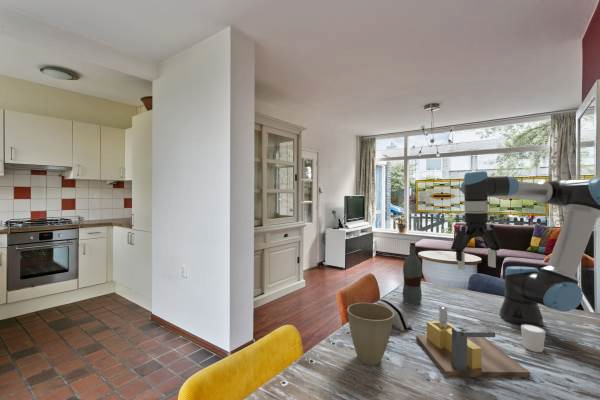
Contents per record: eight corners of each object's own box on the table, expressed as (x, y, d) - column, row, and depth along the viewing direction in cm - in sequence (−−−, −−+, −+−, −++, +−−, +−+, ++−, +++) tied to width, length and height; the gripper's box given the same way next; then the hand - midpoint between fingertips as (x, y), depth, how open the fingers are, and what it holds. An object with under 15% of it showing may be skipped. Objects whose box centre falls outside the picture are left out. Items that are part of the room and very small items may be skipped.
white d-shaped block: (412, 329, 116) (405, 307, 115) (403, 334, 115) (396, 312, 114) (388, 313, 132) (382, 293, 131) (380, 317, 131) (373, 297, 130)
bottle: (399, 298, 151) (399, 241, 150) (415, 298, 152) (416, 241, 151) (407, 305, 141) (408, 244, 141) (425, 305, 142) (426, 244, 142)
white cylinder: (539, 354, 98) (539, 334, 98) (516, 345, 104) (516, 326, 104) (549, 350, 101) (549, 330, 101) (526, 341, 107) (526, 322, 107)
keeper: (485, 369, 89) (486, 326, 89) (494, 377, 85) (495, 332, 85) (450, 369, 89) (451, 326, 89) (457, 377, 85) (458, 332, 85)
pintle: (444, 345, 104) (445, 306, 104) (448, 348, 101) (448, 309, 101) (437, 345, 104) (438, 306, 104) (441, 348, 101) (441, 309, 101)
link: (487, 367, 88) (487, 347, 88) (465, 369, 87) (466, 349, 87) (444, 336, 107) (445, 320, 107) (426, 338, 106) (426, 321, 106)
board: (483, 340, 108) (483, 336, 108) (529, 377, 86) (529, 372, 86) (416, 339, 108) (416, 335, 108) (445, 376, 86) (445, 371, 86)
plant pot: (386, 378, 84) (386, 324, 84) (339, 362, 92) (340, 313, 92) (398, 355, 97) (398, 308, 97) (356, 342, 105) (356, 299, 105)
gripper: (495, 210, 115) (495, 263, 116) (440, 212, 110) (441, 268, 111) (512, 211, 108) (513, 268, 108) (454, 214, 103) (455, 273, 103)
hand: (476, 268), depth 109 cm, fingers open, 13 cm apart
